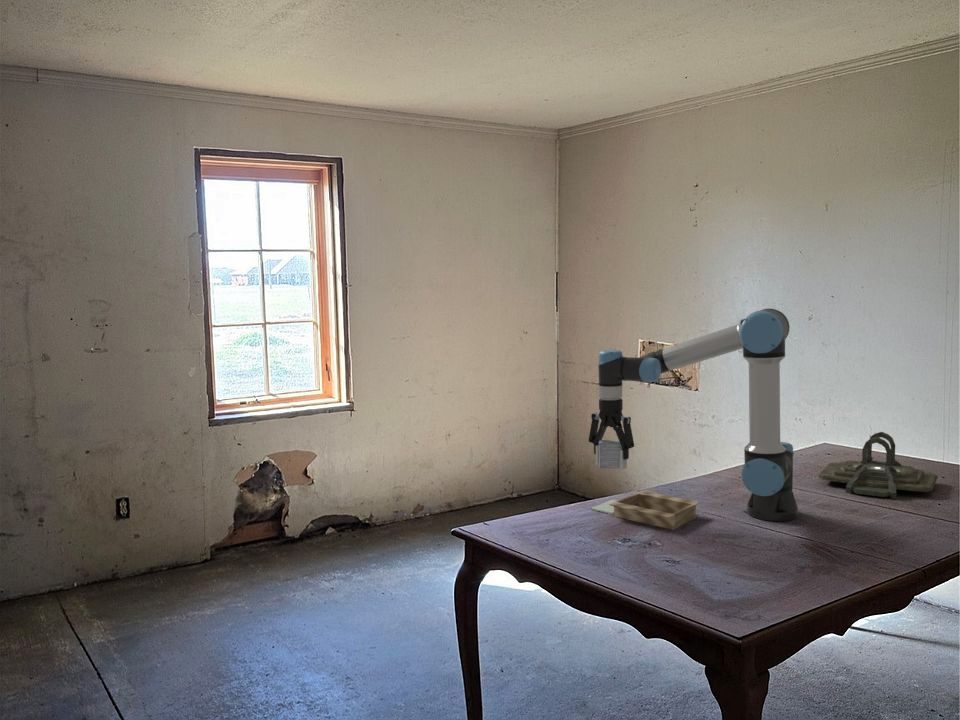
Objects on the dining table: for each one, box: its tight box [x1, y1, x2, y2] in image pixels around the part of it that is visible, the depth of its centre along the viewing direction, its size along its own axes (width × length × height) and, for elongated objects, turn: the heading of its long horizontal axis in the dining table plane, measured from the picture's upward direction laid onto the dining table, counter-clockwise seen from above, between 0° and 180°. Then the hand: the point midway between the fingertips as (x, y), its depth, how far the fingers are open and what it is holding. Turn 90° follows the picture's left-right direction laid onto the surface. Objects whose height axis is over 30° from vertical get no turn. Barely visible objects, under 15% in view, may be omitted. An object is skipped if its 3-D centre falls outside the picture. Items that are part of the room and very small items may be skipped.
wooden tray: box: [609, 490, 701, 531], centre depth 256 cm, size 21×19×4 cm
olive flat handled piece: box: [818, 431, 938, 500], centre depth 282 cm, size 35×34×18 cm
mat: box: [590, 499, 618, 515], centre depth 267 cm, size 8×12×1 cm, turn 137°
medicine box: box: [598, 439, 622, 470], centre depth 265 cm, size 8×4×9 cm, turn 84°
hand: (611, 466), depth 265 cm, fingers closed on medicine box, 9 cm apart
